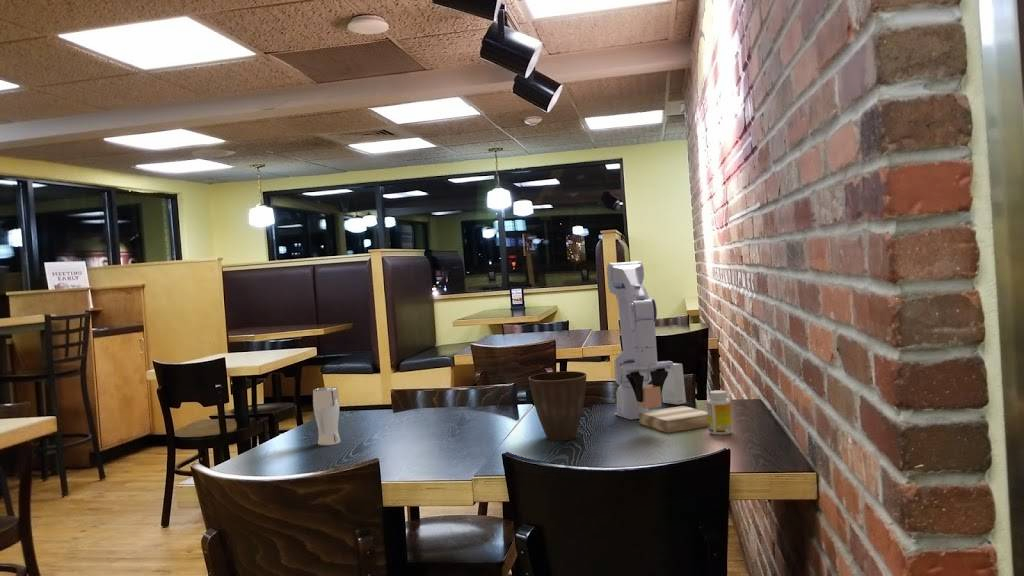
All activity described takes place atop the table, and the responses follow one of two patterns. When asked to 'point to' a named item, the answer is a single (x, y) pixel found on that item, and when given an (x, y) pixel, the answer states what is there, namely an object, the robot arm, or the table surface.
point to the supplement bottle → (719, 413)
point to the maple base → (674, 419)
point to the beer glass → (327, 415)
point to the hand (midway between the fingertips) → (648, 400)
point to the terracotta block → (650, 397)
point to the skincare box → (674, 386)
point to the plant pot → (559, 402)
